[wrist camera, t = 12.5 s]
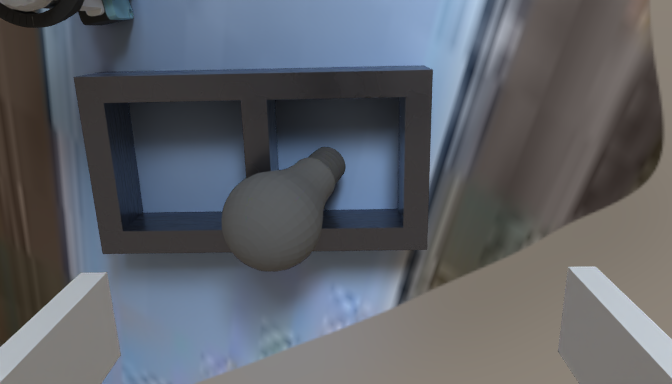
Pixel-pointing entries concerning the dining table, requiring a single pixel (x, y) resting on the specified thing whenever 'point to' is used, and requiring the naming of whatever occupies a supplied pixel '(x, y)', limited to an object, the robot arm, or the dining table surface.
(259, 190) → the light bulb
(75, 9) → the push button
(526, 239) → the dining table surface
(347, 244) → the rectangular frame
